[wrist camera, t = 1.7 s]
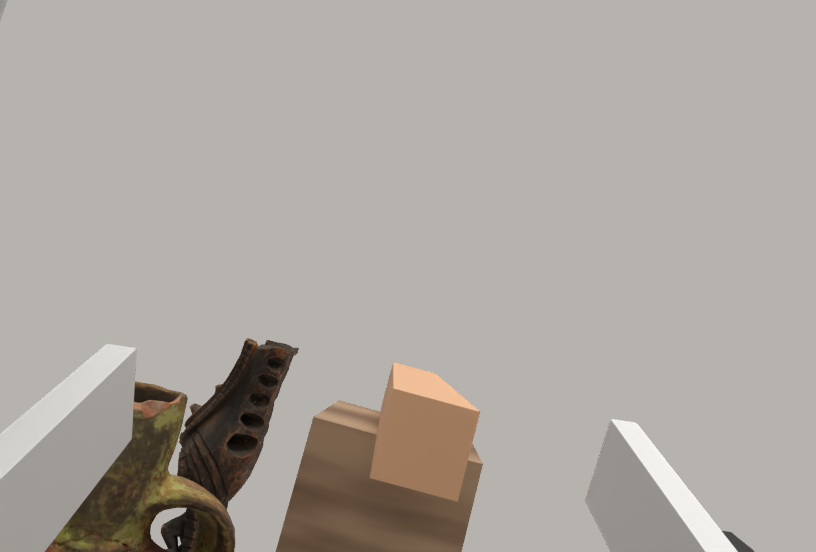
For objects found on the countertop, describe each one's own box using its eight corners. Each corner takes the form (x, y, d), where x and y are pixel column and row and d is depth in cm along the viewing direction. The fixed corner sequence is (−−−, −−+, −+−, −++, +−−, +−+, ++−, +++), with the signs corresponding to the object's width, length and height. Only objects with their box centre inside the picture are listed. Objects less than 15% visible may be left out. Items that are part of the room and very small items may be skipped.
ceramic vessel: (-194, 672, 41) (-70, 330, 43) (173, 638, 56) (248, 386, 58) (-289, 900, 27) (-99, 377, 30) (233, 773, 42) (327, 434, 45)
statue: (159, 587, 64) (237, 327, 67) (238, 623, 61) (315, 350, 64) (86, 623, 54) (182, 318, 58) (175, 669, 51) (270, 344, 55)
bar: (457, 501, 23) (480, 411, 23) (369, 477, 23) (393, 388, 23) (423, 415, 47) (434, 373, 48) (381, 404, 47) (393, 362, 48)
